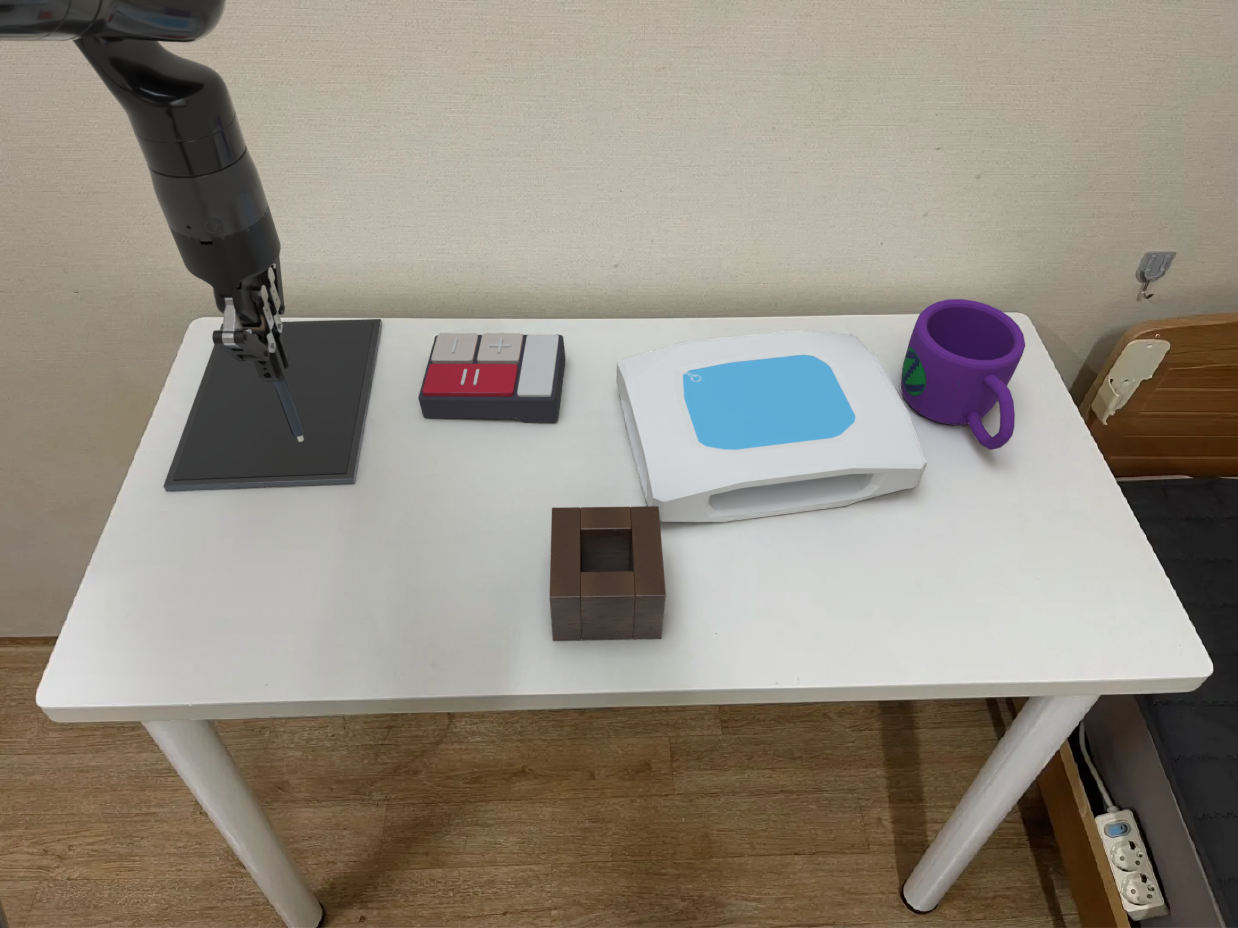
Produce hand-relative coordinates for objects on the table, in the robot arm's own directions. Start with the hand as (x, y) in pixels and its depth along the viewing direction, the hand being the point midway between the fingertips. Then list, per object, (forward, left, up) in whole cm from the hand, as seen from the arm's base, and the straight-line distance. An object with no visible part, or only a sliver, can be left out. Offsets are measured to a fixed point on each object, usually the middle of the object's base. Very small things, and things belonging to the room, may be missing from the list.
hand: (276, 372), depth 82 cm
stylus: (0, 0, -9) cm, 9 cm away
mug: (+66, -24, -14) cm, 72 cm away
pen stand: (+20, -27, -14) cm, 37 cm away
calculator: (+22, +4, -14) cm, 27 cm away
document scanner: (+44, -17, -14) cm, 50 cm away
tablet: (0, +12, -14) cm, 19 cm away
